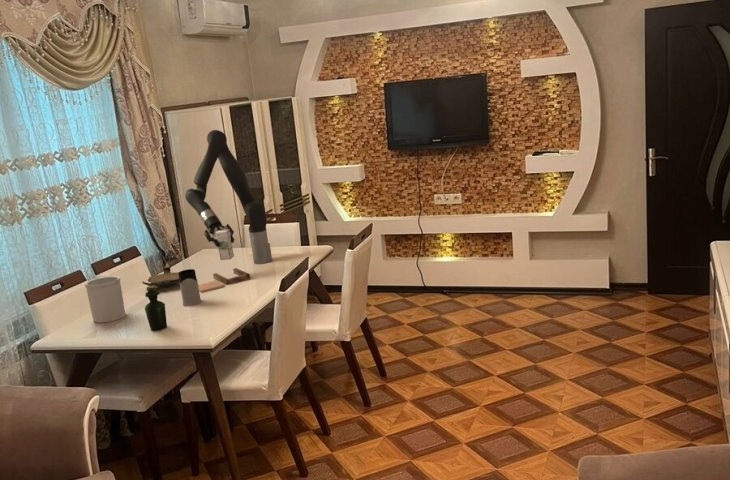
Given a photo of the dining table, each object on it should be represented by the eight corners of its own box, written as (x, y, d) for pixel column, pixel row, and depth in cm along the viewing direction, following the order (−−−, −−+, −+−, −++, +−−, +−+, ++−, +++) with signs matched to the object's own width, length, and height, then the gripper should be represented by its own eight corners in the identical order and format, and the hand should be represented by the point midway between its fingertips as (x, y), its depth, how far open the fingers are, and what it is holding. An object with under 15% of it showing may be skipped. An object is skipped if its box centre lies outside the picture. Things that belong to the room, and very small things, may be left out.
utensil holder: (115, 310, 330) (108, 274, 326) (133, 314, 321) (126, 276, 317) (86, 321, 319) (78, 283, 315) (104, 325, 310) (96, 286, 306)
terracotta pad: (216, 282, 358) (215, 280, 358) (224, 286, 348) (224, 284, 348) (193, 288, 352) (192, 286, 352) (201, 292, 342) (200, 290, 342)
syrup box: (234, 256, 363) (229, 228, 360) (231, 259, 358) (226, 231, 354) (223, 257, 364) (218, 229, 361) (220, 260, 358) (215, 232, 355)
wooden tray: (236, 272, 372) (235, 268, 371) (250, 278, 357) (249, 274, 356) (213, 278, 366) (212, 273, 365) (226, 285, 351) (225, 280, 350)
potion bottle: (171, 323, 300) (163, 282, 296) (166, 330, 293) (158, 288, 289) (151, 326, 300) (143, 285, 296) (146, 333, 292) (138, 290, 288)
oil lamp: (135, 295, 353) (132, 280, 351) (162, 277, 382) (159, 263, 380) (177, 292, 349) (175, 277, 347) (201, 274, 377) (198, 260, 376)
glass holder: (182, 307, 322) (176, 275, 319) (181, 299, 335) (176, 268, 332) (202, 303, 324) (196, 271, 321) (200, 295, 337) (195, 265, 334)
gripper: (199, 218, 357) (215, 242, 351) (224, 211, 366) (240, 235, 360) (196, 227, 362) (212, 252, 356) (220, 221, 371) (236, 244, 365)
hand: (226, 243), depth 358 cm, fingers closed on syrup box, 8 cm apart
